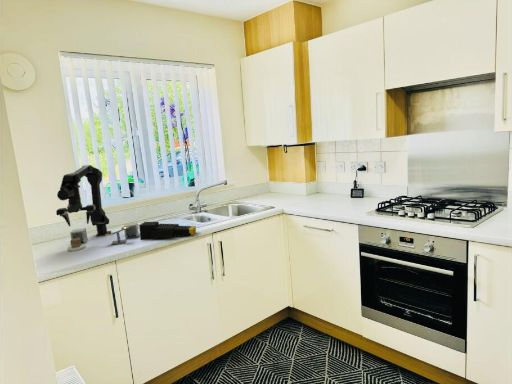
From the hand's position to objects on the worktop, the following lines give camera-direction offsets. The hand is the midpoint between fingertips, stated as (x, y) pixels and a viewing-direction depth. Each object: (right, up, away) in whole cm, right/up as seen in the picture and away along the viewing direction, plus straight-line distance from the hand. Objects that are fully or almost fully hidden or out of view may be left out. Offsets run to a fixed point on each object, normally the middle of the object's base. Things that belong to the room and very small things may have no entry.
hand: (78, 225), depth 200 cm
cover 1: (-4, -11, +10) cm, 15 cm away
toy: (+48, -8, +7) cm, 49 cm away
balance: (+22, -10, +2) cm, 24 cm away
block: (0, -11, -3) cm, 12 cm away
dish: (0, -13, -2) cm, 13 cm away
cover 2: (+25, -8, +14) cm, 29 cm away
